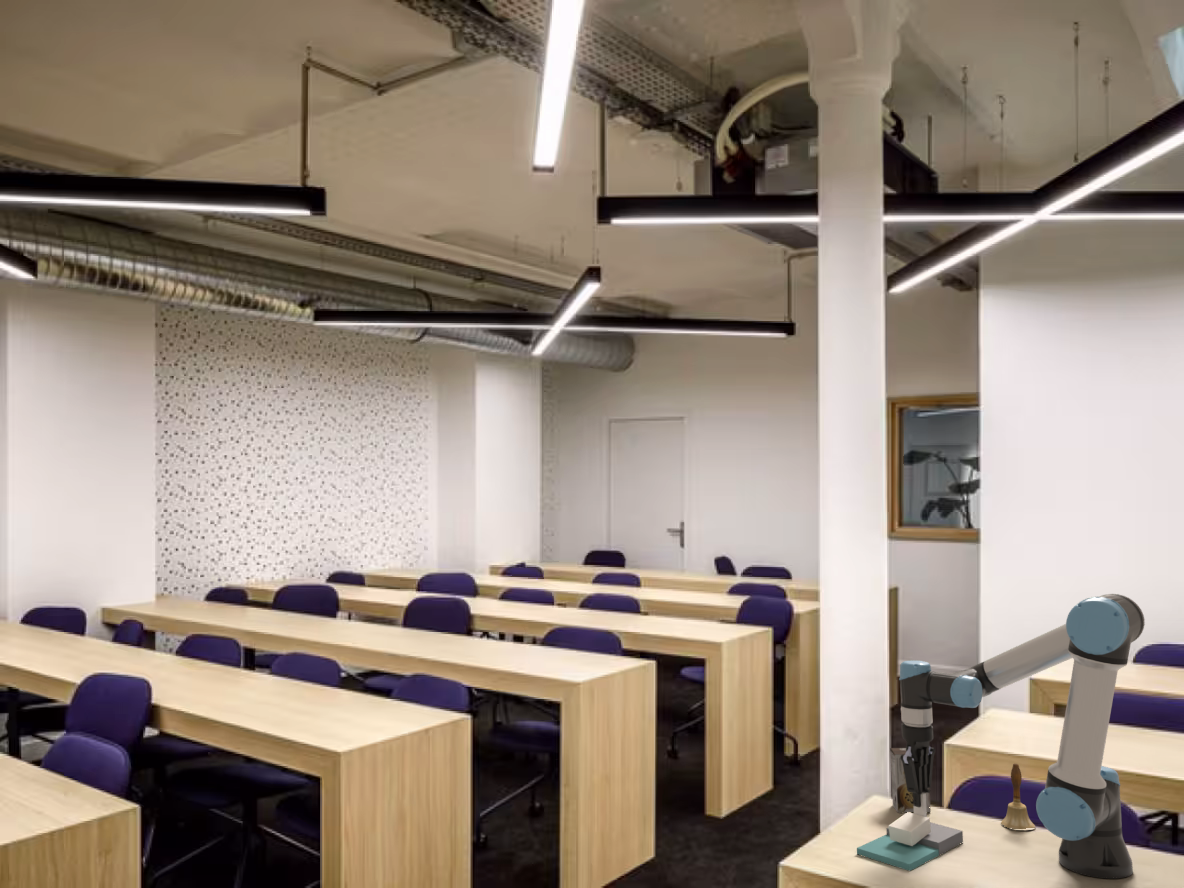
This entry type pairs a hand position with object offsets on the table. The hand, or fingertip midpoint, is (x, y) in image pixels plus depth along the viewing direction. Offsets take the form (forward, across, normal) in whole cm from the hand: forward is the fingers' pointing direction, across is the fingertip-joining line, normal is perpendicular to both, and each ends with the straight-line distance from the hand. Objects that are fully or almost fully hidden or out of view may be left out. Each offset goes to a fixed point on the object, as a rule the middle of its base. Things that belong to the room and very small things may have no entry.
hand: (920, 818), depth 229 cm
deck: (+6, -1, 0) cm, 6 cm away
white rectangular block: (+3, +5, 0) cm, 6 cm away
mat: (+6, +12, 0) cm, 13 cm away
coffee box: (+6, -21, -15) cm, 27 cm away
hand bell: (+6, -30, +11) cm, 32 cm away
